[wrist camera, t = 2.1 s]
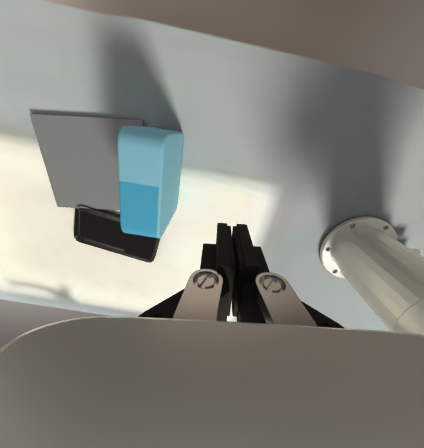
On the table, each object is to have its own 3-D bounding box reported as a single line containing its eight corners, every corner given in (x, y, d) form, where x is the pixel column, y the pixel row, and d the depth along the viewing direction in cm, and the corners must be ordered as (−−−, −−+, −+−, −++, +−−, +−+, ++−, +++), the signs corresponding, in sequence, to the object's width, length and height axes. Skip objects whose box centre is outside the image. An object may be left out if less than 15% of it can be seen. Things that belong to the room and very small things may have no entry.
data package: (154, 126, 29) (115, 124, 18) (184, 132, 29) (164, 133, 18) (151, 203, 34) (120, 237, 23) (177, 207, 34) (158, 243, 24)
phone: (75, 202, 34) (161, 230, 35) (80, 200, 35) (163, 227, 36) (73, 240, 37) (152, 264, 39) (77, 237, 38) (154, 260, 40)
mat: (143, 120, 29) (142, 119, 28) (151, 210, 35) (150, 211, 34) (33, 114, 29) (29, 113, 28) (60, 205, 35) (57, 206, 34)
